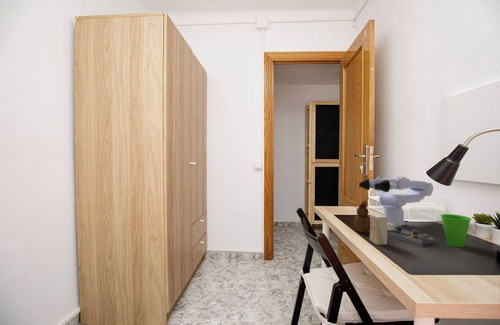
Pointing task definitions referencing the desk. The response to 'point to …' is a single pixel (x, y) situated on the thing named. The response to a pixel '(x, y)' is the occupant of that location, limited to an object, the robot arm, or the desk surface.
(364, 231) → the wooden figurine
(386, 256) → the desk surface
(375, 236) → the box
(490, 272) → the desk surface
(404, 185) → the robot arm
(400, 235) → the console
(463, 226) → the cup
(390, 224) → the fader
